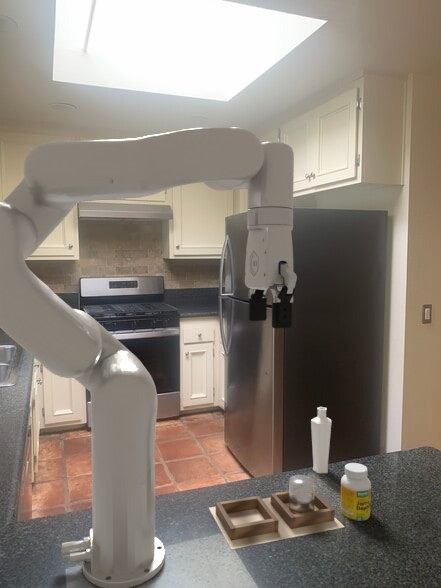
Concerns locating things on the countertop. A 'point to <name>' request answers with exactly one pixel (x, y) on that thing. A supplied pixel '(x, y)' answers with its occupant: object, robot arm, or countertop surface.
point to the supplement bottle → (355, 492)
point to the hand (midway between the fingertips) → (268, 323)
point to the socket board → (270, 519)
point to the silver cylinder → (301, 494)
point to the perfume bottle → (321, 440)
